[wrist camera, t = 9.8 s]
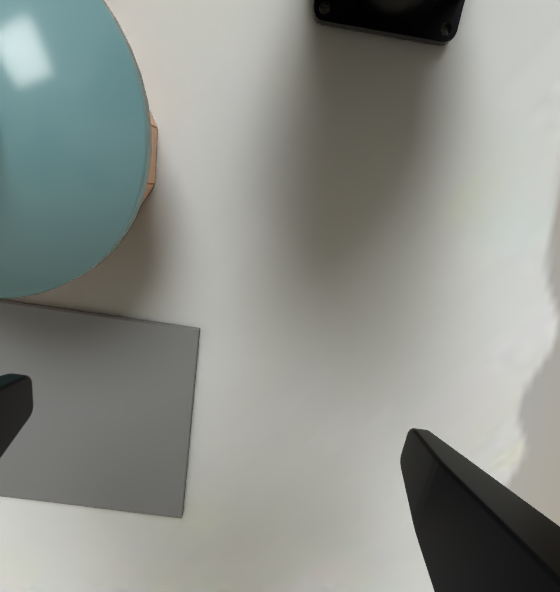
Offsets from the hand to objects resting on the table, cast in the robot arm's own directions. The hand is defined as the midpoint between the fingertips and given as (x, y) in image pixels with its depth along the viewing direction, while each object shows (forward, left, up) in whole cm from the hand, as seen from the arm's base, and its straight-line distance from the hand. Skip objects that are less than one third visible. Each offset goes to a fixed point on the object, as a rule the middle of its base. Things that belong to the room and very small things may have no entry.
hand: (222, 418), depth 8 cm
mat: (+11, +10, -12) cm, 19 cm away
